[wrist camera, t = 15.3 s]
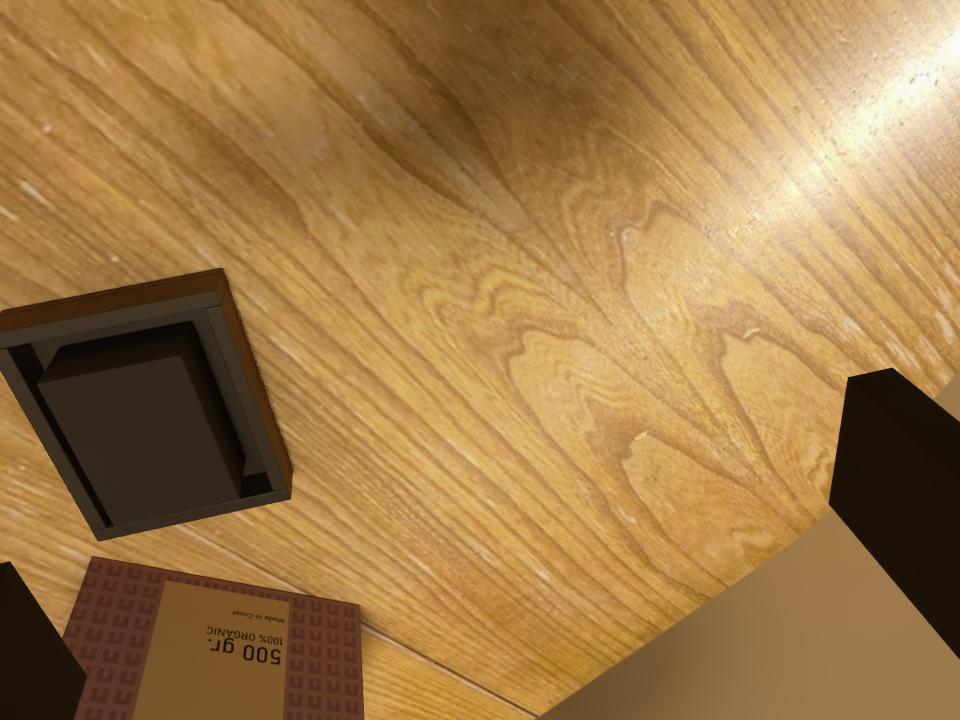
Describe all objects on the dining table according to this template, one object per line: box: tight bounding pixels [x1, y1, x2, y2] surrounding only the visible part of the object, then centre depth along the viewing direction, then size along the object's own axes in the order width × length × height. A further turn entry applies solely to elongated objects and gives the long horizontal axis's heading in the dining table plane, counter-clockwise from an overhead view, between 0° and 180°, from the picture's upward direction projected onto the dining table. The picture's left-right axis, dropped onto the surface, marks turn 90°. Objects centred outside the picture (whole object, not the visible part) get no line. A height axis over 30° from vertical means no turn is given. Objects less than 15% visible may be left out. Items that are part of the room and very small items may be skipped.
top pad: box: [37, 321, 246, 527], centre depth 38 cm, size 9×6×4 cm
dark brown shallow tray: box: [0, 269, 293, 541], centre depth 39 cm, size 13×11×3 cm
